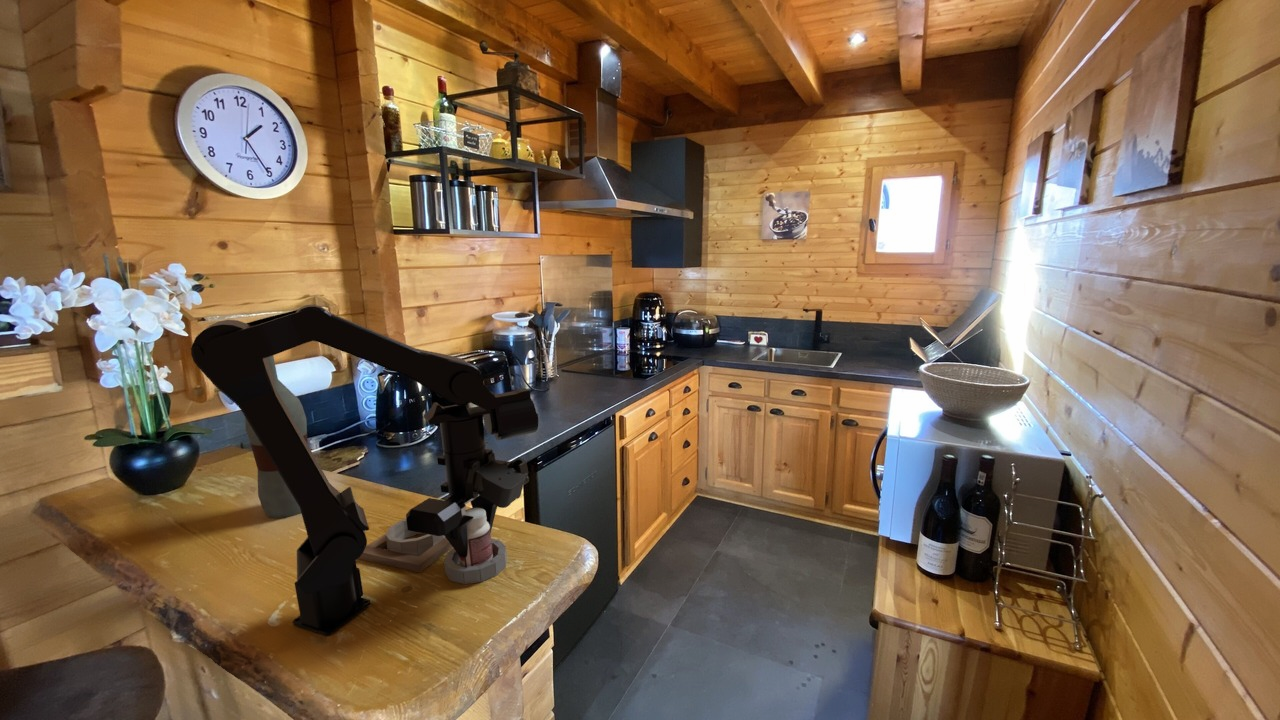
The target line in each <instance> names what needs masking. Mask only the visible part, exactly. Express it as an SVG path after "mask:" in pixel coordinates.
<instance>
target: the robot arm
mask: <svg viewBox="0 0 1280 720" xmlns="http://www.w3.org/2000/svg"><path fill="white" fill-rule="evenodd" d="M310 342H318V343H320V344H322V345H324V346H328V347H331V348H333V349H335V350H338V351H342V353H343V352H344V353H346V354H348V355H351V356H354V357H357V358H358V359H361V360H364V361H366V362H370V363H372V364H375V365H376V366H379V367H383V368H384V369H388V370H390V371H392V372H395V373H398V374H401V375H403V376H406V377H409V378H410V379H412V380H413V381H414V382H416V383H418V384H420V386H421V385H422V386H423V387H424V388H426V389H428V390H429V391H431V392H433V393H434V394H435V395H437V396H439V397H440V398H442V399H444V400H445V401H447V402H449V403H451V404H453V405H447V406H442V405H440V404H439V403H438V402H436V401H435V402H433V403H432V406H431V407H430V408H429V409H428V410H427V412H425V413H424V414H423V418H424V420H425V421H426V422H427V423H428V424H429V425H430V426H432V425H438V424H439V425H440V433H441V441H442V442H441V443H442V450H443V452H442V453H443V454H442V455H440V456H438V457H437V465H438V466H439V465H440V466H444V468H445V479H446V481H445V482H443V483H442V484H440V492H442V493H447V494H448V495H449V496H448V497H446V498H445V500H443V499H436V498H431V497H428V498H427V499H425V500H423V501H422V502H420V503H419V504H417V505H415V506H414V507H412V508H410V509H409V511H408V512H407V513H406V514H405V519H406V521H407V528H408V530H409V531H415V532H420V533H424V535H427V534H430V535H435V536H442V535H444V536H445V537H446V539H447V540H448V541H449V543H450V544H451V545H452V547H453V548H454V549H455V551H456V552H457V554H458V555H459V556H460V557H463V558H466V557H467V553H468V540H467V525H468V524H469V523H470V521H471V520H472V519H473V518H474V517H472V516H466V512H465V510H466V509H467V506H466V505H468V504H469V503H470V504H471V508H482V509H484V510H485V511H486V517H487V522H488V523H489V525H490V533H492V529H493V525H494V522H495V517H496V511H497V508H501V509H504V508H507V507H509V506H511V504H512V503H514V501H516V500H518V499H520V498H521V496H522V492H523V488H524V485H526V484H527V483H529V482H530V478H529V468H528V462H527V460H526V459H523V458H522V457H517V458H515V459H513V460H512V461H508V460H500V459H496V456H495V453H494V452H493V449H491V448H490V449H489V448H488V449H487V446H486V437H485V434H488V436H493V437H494V438H495V439H496V441H502V440H503V441H504V440H506V439H507V440H508V439H511V438H512V439H513V438H515V437H519V436H520V437H521V436H525V435H529V434H534V433H535V434H536V433H537V431H538V428H539V414H538V412H537V411H536V406H535V404H534V401H533V400H532V397H531V391H530V390H529V389H527V388H525V387H524V388H523V387H522V388H517V389H515V390H512V391H507V392H501V393H494V392H492V391H491V390H489V389H488V388H487V387H486V386H485V385H484V382H485V381H484V377H483V373H482V371H481V369H480V368H479V367H477V366H476V365H473V364H472V363H470V362H468V361H466V360H464V359H463V358H461V357H456V356H452V355H450V354H449V355H448V354H444V353H441V352H434V351H429V350H424V349H421V348H420V349H419V348H415V347H413V346H411V345H408V344H405V343H403V342H401V341H399V340H396V339H393V338H391V337H389V336H388V335H387V336H386V335H384V334H382V333H380V332H377V331H375V330H373V329H370V328H367V327H366V326H362V325H360V324H358V323H356V322H354V321H351V320H348V319H346V318H344V317H341V316H339V315H337V314H335V313H332V312H330V311H329V310H327V309H325V308H324V307H322V306H320V305H316V304H306V305H303V306H301V307H299V308H298V309H295V310H291V311H288V312H284V313H283V312H282V313H280V314H275V315H270V316H267V317H263V318H259V319H256V320H253V321H249V322H244V321H240V320H238V319H237V320H235V319H225V320H219V321H217V322H214V323H212V324H210V325H209V326H207V327H206V328H205V329H202V331H201V332H199V334H197V336H195V337H194V341H192V345H191V348H190V355H191V357H192V358H191V359H192V361H193V362H194V364H195V366H196V367H197V368H198V369H199V370H200V371H201V372H202V373H203V374H204V376H205V377H206V378H208V380H209V381H210V382H211V383H212V384H213V385H214V386H215V387H216V388H217V389H218V390H219V391H220V392H221V393H222V394H223V395H225V396H226V397H227V398H228V399H229V400H231V401H232V402H233V403H234V404H235V405H236V406H237V407H238V408H239V409H240V410H241V412H242V414H243V416H244V418H245V417H246V419H247V421H248V422H249V424H250V426H251V427H252V429H253V431H254V432H255V434H256V436H257V437H258V439H259V441H260V442H261V444H262V445H263V447H264V449H265V450H266V452H267V454H268V455H269V457H270V459H271V460H272V462H273V464H274V465H275V467H276V469H277V470H278V472H279V474H280V475H281V477H282V479H283V480H284V482H285V484H286V485H287V487H288V489H289V490H290V492H291V494H292V495H293V497H294V499H295V500H296V502H297V504H298V505H299V507H300V510H301V513H300V514H301V516H302V520H303V523H304V528H305V532H306V535H307V537H306V538H305V540H303V542H302V543H301V544H300V546H299V547H298V548H297V549H296V581H295V582H294V583H293V584H294V589H295V594H296V599H297V606H298V610H299V611H298V612H299V615H298V616H297V617H296V618H294V619H293V620H292V625H293V626H295V627H299V628H301V629H306V630H307V631H311V632H315V633H318V634H321V635H324V636H330V635H332V634H333V633H335V632H336V631H338V630H339V629H340V628H342V627H343V626H344V625H345V624H347V623H348V622H349V621H351V620H352V619H354V618H355V617H356V616H357V615H359V614H360V613H361V612H362V611H364V610H365V609H366V608H369V606H370V605H372V603H371V599H369V598H365V597H363V596H364V590H363V584H362V578H361V577H362V576H361V570H360V568H358V567H357V560H359V557H360V556H361V555H362V553H363V552H364V550H365V547H366V546H367V545H368V539H367V536H366V531H369V530H370V527H369V524H368V520H367V518H366V513H365V510H364V509H365V508H363V507H362V506H361V505H359V504H358V502H357V501H356V499H355V497H354V494H353V490H352V487H351V486H349V487H347V488H346V489H344V490H342V491H341V492H340V491H339V490H338V489H337V488H335V487H334V485H332V484H331V483H330V481H329V480H328V478H327V476H326V474H325V472H324V471H323V469H322V468H321V466H320V463H319V462H318V460H317V459H316V457H315V455H314V453H313V452H312V449H311V448H310V446H309V444H307V443H306V441H305V439H304V437H303V436H302V434H301V432H300V430H299V428H298V427H297V425H296V423H295V421H294V420H293V418H292V416H291V414H290V413H289V411H288V409H287V407H286V406H285V404H284V402H283V400H282V399H281V397H280V395H279V393H278V391H277V390H276V387H275V383H274V380H273V376H272V372H271V369H270V365H269V361H268V358H267V357H270V356H275V355H277V354H280V353H283V352H286V351H289V350H291V349H294V348H296V347H299V346H302V345H304V344H307V343H310ZM468 404H473V406H472V407H467V406H466V405H468ZM474 405H475V406H474ZM485 431H486V433H485ZM453 548H452V549H453Z"/></svg>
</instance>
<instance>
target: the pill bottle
mask: <svg viewBox="0 0 1280 720" xmlns="http://www.w3.org/2000/svg"><path fill="white" fill-rule="evenodd" d="M465 512H466V516H472V517H474V518H473V519H472V520H471V521H470V523H469V524H468V525H467V540H468V553H467V557H466V558H463V557H460V556H459V561H460V562H459V566H464V567H470V566H478V565H481V564H484V563H486V562H489V561H491V560H492V559H493V558H494V555H493V552H492V543H491V539H492V534H491V533H492V532H491V533H490V525H489V523H488V522H487V517H486V511H485V510H484V509H482V508H472V507H471V508H468V509H467V508H466V509H465Z"/></svg>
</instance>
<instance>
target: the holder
mask: <svg viewBox="0 0 1280 720" xmlns="http://www.w3.org/2000/svg"><path fill="white" fill-rule="evenodd" d="M491 543H492V552H493V559H492V560H491V561H489V562H486V563H484V564H481V565H478V566H470V567H464V566H460V561H459V555H458V554H457V552H456V551H455V549H454V548H451V549H450V550H449V551H447V552H446V555H445V559H444V561H443V564H444V572H445V575H446V576H447V578H448V579H449V580H450V581H451V582H454V583H458V584H462V585H467V584H468V585H469V584H475V583H483V582H484V581H487V580H490V579H492V578H495V577H496V576H497V575H499V574H500V573H501V571H503V570H504V569H505V568H506V567H507V560H508V557H507V547H506V545H505V544H504V543H503V542H502V541H501V540H499V539H494V538H491ZM458 564H459V565H458Z"/></svg>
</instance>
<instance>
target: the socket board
mask: <svg viewBox="0 0 1280 720" xmlns="http://www.w3.org/2000/svg"><path fill="white" fill-rule="evenodd" d="M416 534H417V535H422V534H423V533H420V532H415V531H409V530H408V528H407V521H406V518H403V519H401V520H399V521H397V522H396V523H394V524H392V525H390V526H389V528H388V529H387V531H386V533H385V534H383V535H382V536H380V537H378V538H377V539H375V540H374V541H372V542H369V543H368V544H367V545H366V547H365V550H364V552H363V553H362V555H361V556H360V557H359V558H358V560H359V559H360V560H365V561H368V562H372V563H376V564H377V563H378V564H381V565H386V566H390V567H395V568H398V569H403V570H408V571H411V572H415V573H421V572H423V571H425V570H426V568H428V567H429V566H430V565H432V564H433V563H434V562H436V561H437V560H439V558H441V557H443V556H444V555H445V554H447V553H448V552H449V551H450V550H452V549H453V547H452V545H451V544H450V543H449V541H448V540H447V539H446V537H445V536H444V535H442V536H435V535H430V534H424V535H422V536H420V537H415V538H410V537H413V536H416ZM407 538H408V539H407Z"/></svg>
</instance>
